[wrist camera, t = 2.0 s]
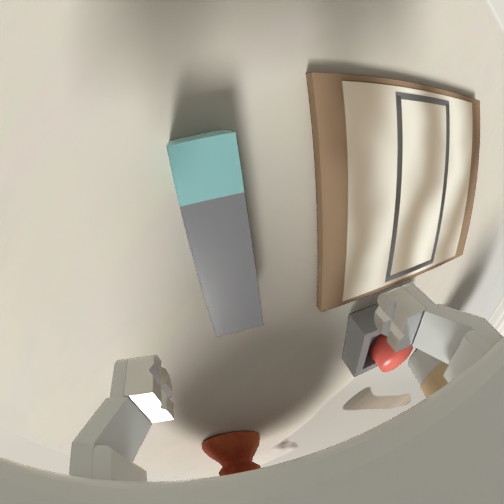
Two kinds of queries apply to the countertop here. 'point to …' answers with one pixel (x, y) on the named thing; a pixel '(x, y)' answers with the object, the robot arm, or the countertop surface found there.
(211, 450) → the goblet
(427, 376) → the coffee cup
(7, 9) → the countertop surface
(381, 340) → the button
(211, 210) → the block
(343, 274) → the drawing board
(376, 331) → the button housing
